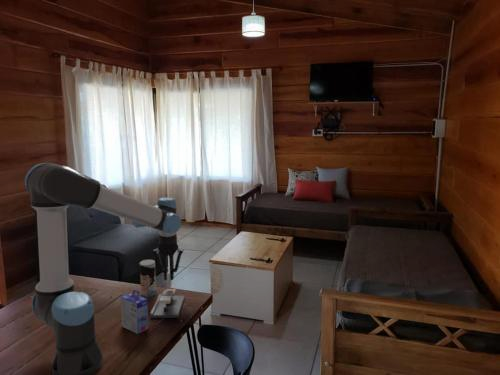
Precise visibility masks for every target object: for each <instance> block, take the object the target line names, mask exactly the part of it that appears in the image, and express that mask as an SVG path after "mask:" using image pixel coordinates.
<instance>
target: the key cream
mask: <svg viewBox="0 0 500 375" xmlns="http://www.w3.org/2000/svg"><path fill="white" fill-rule="evenodd" d="M170 301H171V296H161V298H160V300H159V304H169V303H170Z"/></svg>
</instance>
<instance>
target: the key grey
mask: <svg viewBox="0 0 500 375" xmlns="http://www.w3.org/2000/svg"><path fill="white" fill-rule="evenodd" d="M161 294H162V296H171V298H172V296H173V290H163V291H162V293H161Z"/></svg>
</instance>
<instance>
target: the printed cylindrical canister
mask: <svg viewBox="0 0 500 375" xmlns="http://www.w3.org/2000/svg"><path fill="white" fill-rule="evenodd" d="M139 276H140V292H141V297H144V298H146V297H148V298H149V297H153V296H155V295H156V294H157V278H156V277H157V274H156V261H155V260H154V259H143V260H141V261H140V262H139Z"/></svg>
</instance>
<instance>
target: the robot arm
mask: <svg viewBox="0 0 500 375" xmlns="http://www.w3.org/2000/svg"><path fill="white" fill-rule="evenodd" d="M24 178H25V179H24V185H25V188H26V190H27V192H28V193H29V195H30V207H31V208H33V209H34V210H35V211H36V222H37V223H36V224H37V239H38V240H37V241H38V261H39V263H38V264H39V282H38V283H37V284H36V285H35V287H34V290H35V293H34V294H33V295H32V298H31V303H30V304H31V305H30V306H31V309H32V312H33V313H34V315H35V316H36V317H37V318H38V319H39V320H41V321H42V322H43V323H44V324H45V325H47V326H48V327H49V328H50V329H51V330H53V333H54V340H55V341H54V342H55V343H54V344H55V352H54V355H53V356H54V357H53V359H52V362H51V363H52V364H51V374H52V375H94V374H96V373H97V372H98V371H99V370H100V369H101V368H102V367H103V364H104V355H103V351H102V349H101V347H100V345H99V344H98V341H97V338H96V323H95V306H94V302H93V299H92V297H91V296H90V294H87V293H85V292H82V291H80V292H78V291H75V281H74V280H73V279H72V278H71V277H69V275H70V274H69V271H70V270H69V252H68V251H69V250H68V249H69V248H68V247H69V246H68V223H67V222H68V220H67V209H68V208H69V207H70V206H73V207H77V208H82V209H84V210H89V209H90V210H91V209H95V210H98V211H101V212H103V213H108V214H110V215H112V216H115V217H118V218H122V219H124V220H125V219H126V220H129V221H130V222H131V224H132V226H133V227H135V228H136V229H137V228H144V227H149V228H151V229H155V230H158V234H159V235H158V245H157V248H156V249H155V248H154V249H153V250H152V254H153V255H154V256H155V260H156V263H157V267H158V271H159V272H160V273H163V279H164V281H166V289H172V281H173V280H174V276H175V275H174V273H177V272H178V270H179V266H180V261H181V257H182V255H183V253H184V249H183V248H180V247H179V244H178V235H177V232H178V231H179V230H180V229H181V227H182V219H181V217H180V216H179V215H178V214H177V202H176V199H175V198H173V197H160V198H158V199H157V203H156V204H154V205H152V204H150V203H147V202H144V201H142V200H139V199H136V198H135V197H131V196H129V195H127V194H124V193H121V192H118V191H116V190H113V189H111V188H109V187H106V186H103V185H102V183H101V182H100V181H99V180H96V179H95V178H92V177H90V176H87V175H86V174H84V173H82V172H80V171H78V170H76V169H74V168H72V167H70V166H67V165H60V164H57V163H54V162H53V163H51V162H42V163H39V164H36V165H34V166H33V167H31V168H30V169H29V170H28V171H27V173H26V175H25V177H24ZM160 253H161V254H162V258H163V260H162V258H161V255H160ZM176 253H177V255H176V256H177V257H176V261H174V255H175V254H176ZM168 259H169V266H168ZM162 261H163V262H162ZM174 262H175V264H174Z"/></svg>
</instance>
